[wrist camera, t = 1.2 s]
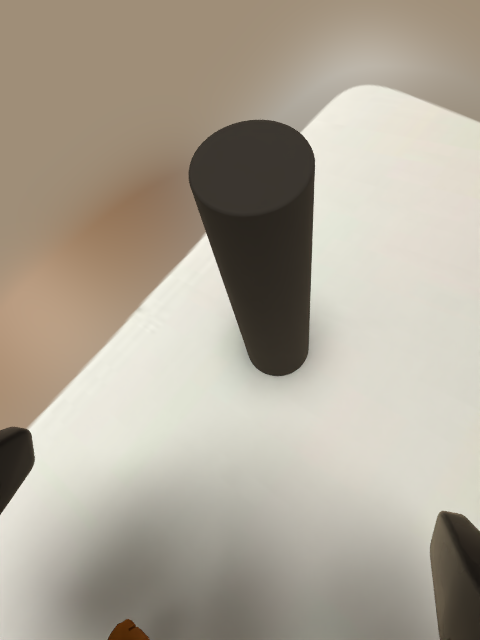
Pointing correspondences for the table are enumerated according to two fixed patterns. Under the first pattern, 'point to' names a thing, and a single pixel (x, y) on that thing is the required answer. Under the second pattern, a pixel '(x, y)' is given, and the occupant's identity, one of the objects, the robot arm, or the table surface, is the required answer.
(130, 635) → the toy figurine
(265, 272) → the post
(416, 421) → the table surface
